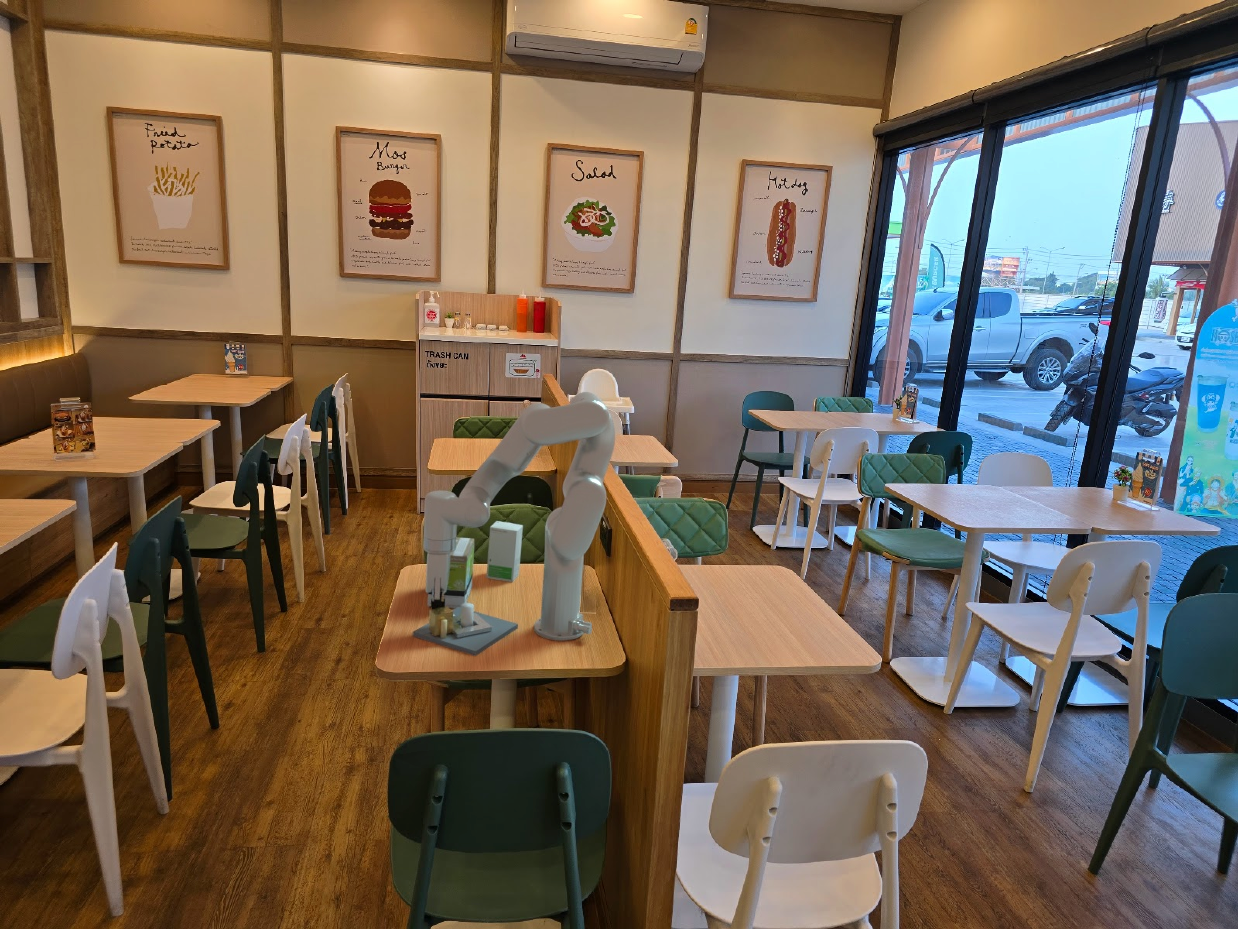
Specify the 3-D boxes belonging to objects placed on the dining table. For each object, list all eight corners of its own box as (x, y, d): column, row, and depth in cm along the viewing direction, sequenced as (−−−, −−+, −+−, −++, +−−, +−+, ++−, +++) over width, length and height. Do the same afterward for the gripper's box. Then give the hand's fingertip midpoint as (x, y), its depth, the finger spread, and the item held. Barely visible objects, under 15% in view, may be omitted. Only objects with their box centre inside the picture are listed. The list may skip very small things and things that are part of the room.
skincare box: (485, 578, 234) (488, 526, 230) (493, 570, 240) (495, 520, 236) (514, 582, 232) (516, 530, 229) (520, 574, 239) (523, 523, 235)
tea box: (465, 609, 212) (467, 555, 209) (426, 607, 211) (427, 553, 208) (472, 587, 227) (475, 536, 223) (436, 585, 226) (437, 534, 223)
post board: (517, 628, 203) (519, 602, 202) (475, 656, 187) (476, 627, 186) (458, 611, 211) (459, 585, 209) (412, 636, 195) (413, 608, 193)
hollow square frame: (475, 616, 205) (476, 596, 204) (491, 630, 198) (492, 609, 197) (424, 626, 197) (424, 605, 196) (439, 641, 190) (440, 619, 189)
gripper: (426, 532, 200) (424, 602, 204) (420, 553, 186) (419, 628, 190) (457, 533, 201) (455, 602, 206) (454, 554, 187) (452, 628, 191)
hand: (437, 614), depth 198 cm, fingers closed
